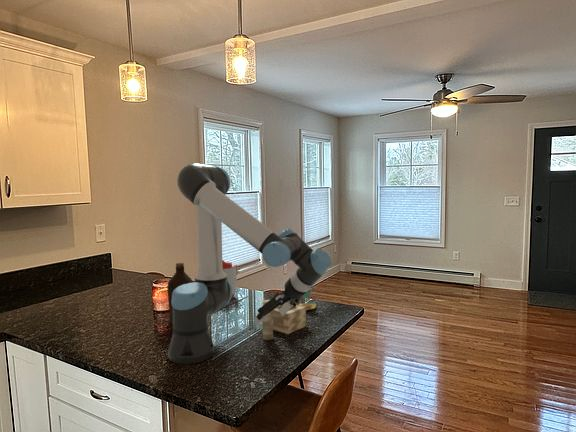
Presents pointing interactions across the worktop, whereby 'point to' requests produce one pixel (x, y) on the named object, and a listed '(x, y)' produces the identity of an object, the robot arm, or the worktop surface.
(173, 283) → the olive oil
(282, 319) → the block
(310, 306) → the green yellow irregular piece
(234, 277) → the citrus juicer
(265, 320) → the dowel
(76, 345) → the worktop surface
